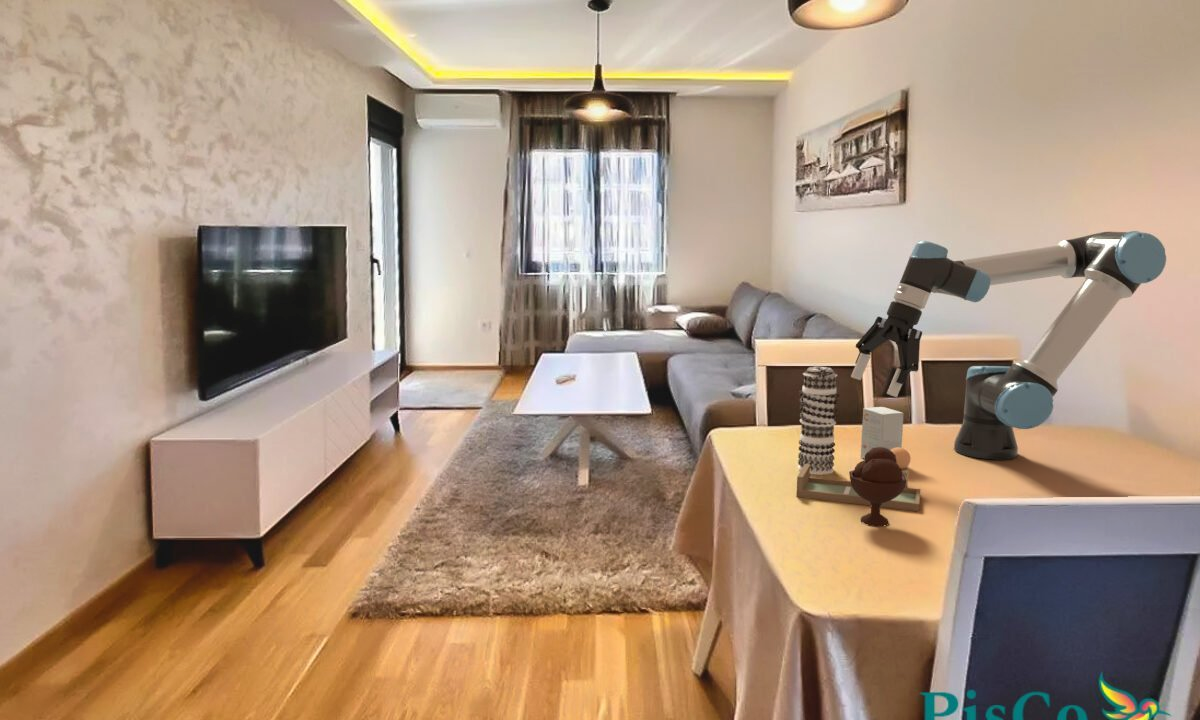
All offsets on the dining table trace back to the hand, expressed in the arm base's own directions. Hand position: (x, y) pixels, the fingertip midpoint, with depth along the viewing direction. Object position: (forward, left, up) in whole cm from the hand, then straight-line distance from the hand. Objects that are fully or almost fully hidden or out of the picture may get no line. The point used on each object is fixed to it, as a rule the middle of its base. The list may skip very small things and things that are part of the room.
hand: (872, 386), depth 205 cm
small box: (-2, -6, -20) cm, 21 cm away
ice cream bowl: (-4, +42, -20) cm, 46 cm away
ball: (-7, +17, -13) cm, 22 cm away
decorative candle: (+12, +9, -20) cm, 25 cm away
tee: (-7, +17, -20) cm, 27 cm away
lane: (0, +26, -20) cm, 33 cm away
